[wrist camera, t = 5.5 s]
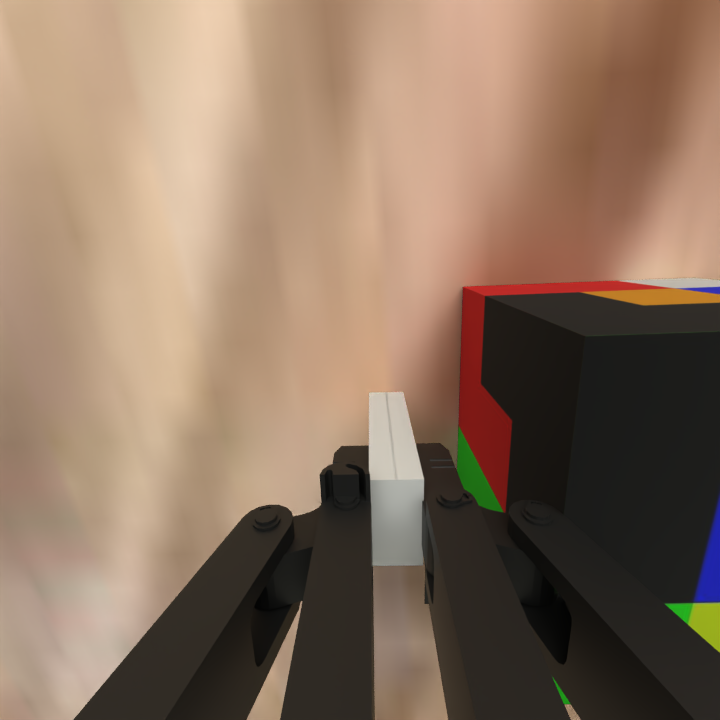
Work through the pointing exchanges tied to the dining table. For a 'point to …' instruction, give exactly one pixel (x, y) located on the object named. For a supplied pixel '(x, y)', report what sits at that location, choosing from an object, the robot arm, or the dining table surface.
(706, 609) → the puzzle toy
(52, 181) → the dining table surface
